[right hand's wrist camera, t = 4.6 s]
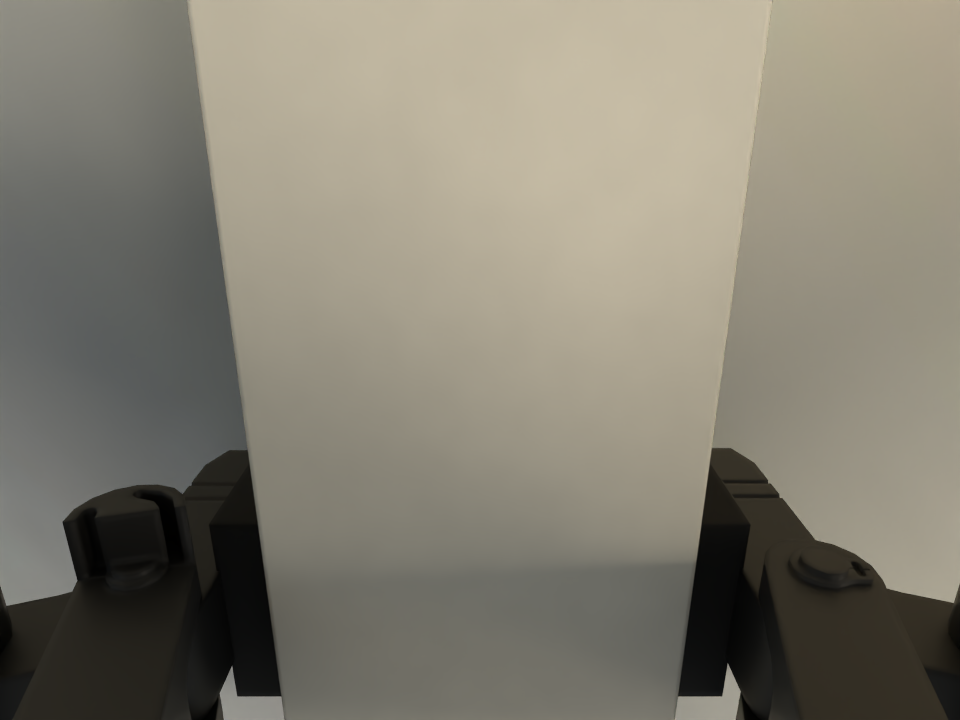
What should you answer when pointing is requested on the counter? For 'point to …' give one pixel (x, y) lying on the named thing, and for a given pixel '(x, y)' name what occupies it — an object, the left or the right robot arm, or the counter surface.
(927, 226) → the counter surface
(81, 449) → the counter surface
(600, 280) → the beam
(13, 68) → the counter surface
